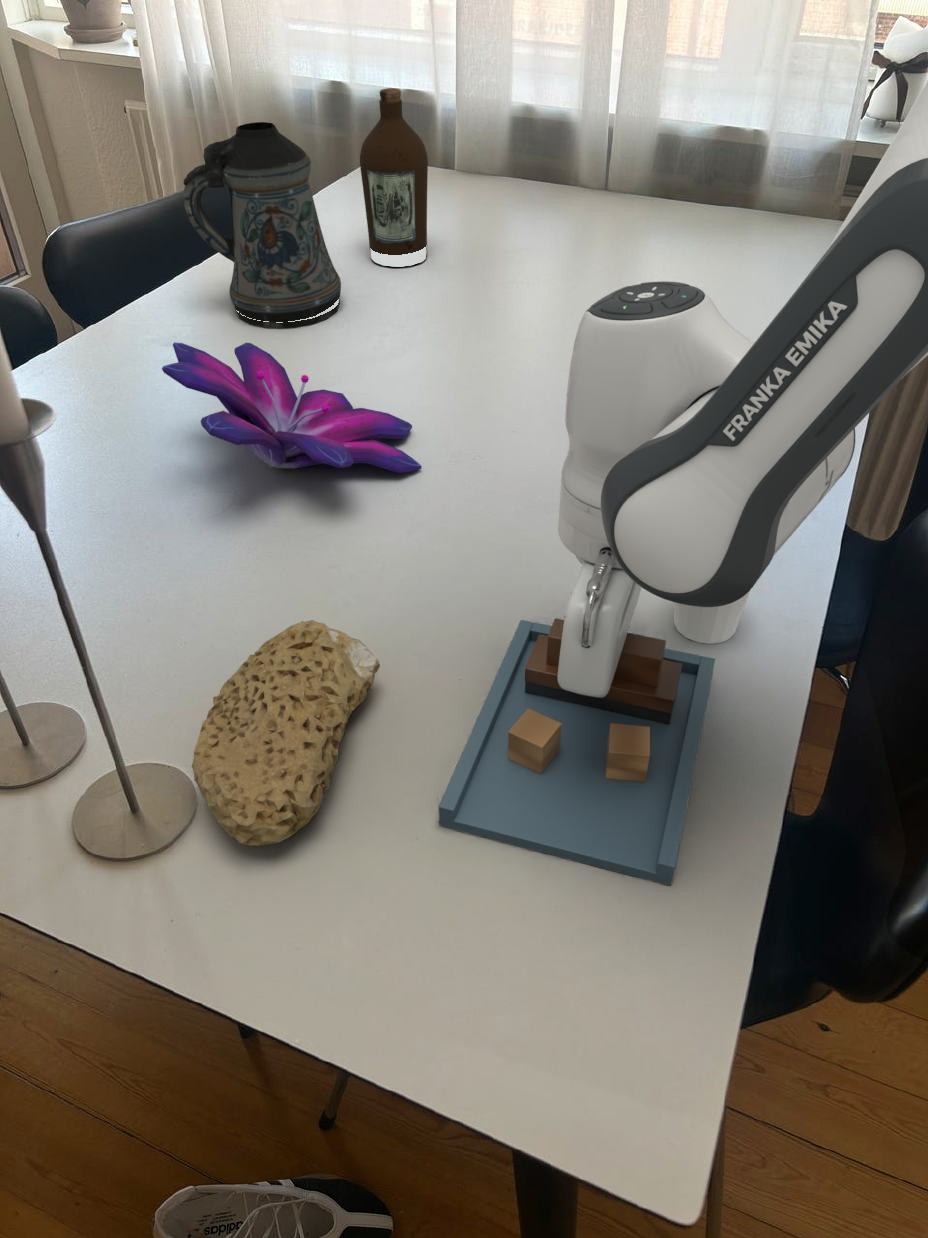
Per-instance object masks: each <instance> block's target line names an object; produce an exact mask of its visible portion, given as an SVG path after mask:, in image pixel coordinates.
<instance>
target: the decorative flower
mask: <svg viewBox="0 0 928 1238" xmlns="http://www.w3.org/2000/svg"><path fill="white" fill-rule="evenodd" d="M172 347H173V350H174V353H175V357H176V360H177V362H174V363H173V362H172V363H170V364H165V365H163V366H162V367H161V371H162V372H163V374H165V375H166V376H168V377H169V378H171V379H173V380H174V381H176V382H177V383H179V384H181V385H182V386H183V387H185V388H186V389H189V390H192V391H196V392H200V393H203V394H206V395H209V396H211V397H212V396H213V397H216V399H218V401H219V402H220V403H221V404H222V405H223V407H224V408H225V409H226V410H220V411H216V412H214V413H211V414H208V415H206V416H204V417H202V418H201V419H200V425H201V427H202V428H203V429H204V430H205V432H207V433H208V435H209V436H211V437H214V438H216V439H219V440H222V441H225V442H228V443H229V444H230V443H231V444H233V445H235V446H246V447H247V448H248V449H249V450H250V451H251V453H253V454H254V455H255V456H256V457H258V458H259V459H260V460H261V461H263V463H265V464H266V465H267V466H268V467H270V468H271V467H274V468H275V469H298V468H299V469H300V468H305V467H310V466H316V465H320V464H325V465H329V466H332V467H335V468H338V469H343V468H348V467H351V466H352V465H354V464H368V465H372V466H375V467H378V468H381V469H385V470H388V471H391V472H394V473H398V474H401V473H411V472H417V471H419V470H421V469H422V467H423V466H422V465H421V464H420V463H419V462H418V461H417V460H415V459H414V458H413V457H411V456H410V455H409V454H408V453H406V452H405V451H403V450H401V449H399V448H396V447H394V446H392V445H389V444H386V443H384V442H382V441H379V440H377V439H389V440H404V439H405V438H406V437H407V435H408V434H409V433H410V431H412V429H413V424H411V423H410V422H408V421H406V420H404V419H402V418H399V417H397V416H396V415H393V414H390V413H388V412H384V411H378V410H374V409H369V408H364V407H357V408H354V407H353V405H352V404H351V402H350V401H349V400H348V399H347V397H346V395H345V394H344V393H342V392H338V391H332V390H328V389H324V388H323V389H317V390H310V391H306V392H304V390H305V387H306V385H307V383H309V376H308V375H307V374H303V375H301V377H300V382H302V383H301V387H300V390H299V393H298V395H297V394H296V392H295V389H294V387H293V384H292V383H291V380H290V377H289V375H288V373H287V371H286V369H285V367H284V366H283V365H282V364H281V363H280V362H279V361H278V360H277V359H276V358H275V357H274V356H273V355H272V354H271V353H270V352H268V351H266V350H264V349H262V348H260V347H259V346H257V345H255V344H253V343H251V342H244V343H243V344H240V345H238V346H236V347H235V348H234V350H233V351H234V355H235V357H236V359H237V361H238V364H239V366H240V369H241V373H242V378H243V379H242V378H241V377H240V376H239V374H238V373H237V372H236V370H234V369H233V368H232V367H231V366H229V365H228V364H226V363H225V362H223V361H222V360H219V359H218V358H217V357H215V356H214V355H211V354H210V353H208V352H206V351H204V350H202V349H199V348H196V347H193V346H192V345H189V344H186V343H183V342H173V344H172Z"/></svg>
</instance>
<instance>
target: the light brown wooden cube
mask: <svg viewBox="0 0 928 1238" xmlns="http://www.w3.org/2000/svg"><path fill="white" fill-rule="evenodd" d="M649 758H650V727H646V726H636V725H625V724H615V723H610V727H609V735H608V743H607V753H606V776H605V777H606V778H608V779H618V780H628V781H637V782H645V781H646V776H647V770H648V764H649Z"/></svg>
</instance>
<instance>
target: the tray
mask: <svg viewBox="0 0 928 1238" xmlns="http://www.w3.org/2000/svg"><path fill="white" fill-rule="evenodd" d="M551 627H552V624H546V623H541V622H535V621H530V620H524V619H520V621H519V623H518V626H517V628H516V630H515V632H514V634H513V636H512V639H511V641H510V644H509V645H508V648H507V650H506V652H505V655H504V657H503V659H502V661H501V663H500V667H499V668H498V671H497V673H496V676H495V677H494V680H493V682H492V684H491V687H490V689H489V691H488V693H487V696H486V698H485V700H484V702H483V705H482V707H481V709H480V712H479V714H478V716H477V719H476V721H475V723H474V724H473V728H472V730H471V732H470V733H469V736H468V738H467V741H466V743H465V746H464V748H463V750H462V752H461V755H460V757H459V759H458V761H457V764H456V767H455V768H454V770H453V773H452V775H451V777H450V780H449V782H448V784H447V787H446V789H445V791H444V794H443V795H442V798H441V800H440V802H439V804H438V825H439V826H440V827H444V828H448V829H450V830H451V829H452V830H455V831H460V832H464V833H467V834H471V835H475V836H479V837H482V838H486V839H489V840H493V841H498V842H501V843H505V844H509V845H513V846H516V847H520V848H525V849H527V850H532V851H535V852H536V851H537V852H539V853H543V854H547V855H551V856H556V857H558V858H563V859H566V860H570V861H574V862H578V863H582V864H586V865H589V866H594V867H597V868H601V869H605V870H609V871H611V872H612V871H613V872H617V873H620V874H624V875H628V876H630V877H631V876H632V877H635V878H640V879H644V880H646V881H647V880H648V881H650V882H654V883H659V884H663V885H666V886H669V887H670V886H672V884H673V880H674V875H675V871H676V870H675V869H676V866H677V859H678V855H679V850H680V846H681V845H680V844H681V840H682V839H681V838H682V834H683V828H684V825H685V818H686V815H687V814H686V813H687V809H688V804H689V797H690V792H691V788H692V782H693V777H694V773H695V767H696V762H697V756H698V751H699V747H700V741H701V736H702V731H703V726H704V721H705V716H706V710H707V704H708V700H709V694H710V688H711V684H712V680H713V673H714V668H715V664H716V658H714V657H709V656H703V655H699V654H694V653H691V652H690V653H689V652H684V651H679V650H675V649H669V648H665V652H664V658H663V660H667V661H671V662H676V663H681V664H682V670H681V675H680V680H679V685H678V691H677V695H676V700H675V704H674V708H673V712H672V717H671V721H670V724H669V725H668V724H664V723H659V722H655V721H650V720H646V719H641V718H637V717H632V716H628V715H623V714H619V713H614V712H610V711H605V710H601V709H596V708H592V707H587V706H583V705H578V704H574V703H569V702H565V701H560V700H556V699H551V698H547V697H543V696H538V695H534V694H529V693H525V667H526V665H527V662H528V660H529V658H530V655H531V653H532V650H533V648H534V645H535V643H536V641H537V638H538V636H539V634H541V635H545V636H548V635H549V632H550V630H551ZM527 709H531V710H533V711H535V712H537V713H540V714H542V715H544V716H546V717H549V718H551V719H553V720H555V721H558V722H560V723H562V727H561V740H560V750H559V751H558V753H557V754H556V755H555V757H554V758H553V759H552V760H551V762H550V763H549V764H548V766H547V767H546V768H545V769H544V771H543V772H542V773H541V774H539V773H537V772H535V771H533V770H531V769H529V768H527V767H525V766H523V765H520V764H518V763H516V762H514V761H512V760H510V759H508V732H509V730H510V729H511V728H512V727H513V726H514V725H515V723H516V722H517V721H518V720H519V719H520V717H521V716H522V715H523V714H524V713H525V711H526V710H527ZM610 723H615V724H625V725H636V726H646V727H650V758H649V764H648V770H647V776H646V781H645V782H637V781H628V780H618V779H608V778H606V777H605V776H606V753H607V743H608V735H609V727H610Z"/></svg>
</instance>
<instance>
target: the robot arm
mask: <svg viewBox="0 0 928 1238" xmlns="http://www.w3.org/2000/svg"><path fill="white" fill-rule="evenodd" d="M927 356H928V79H927V81H925V84H924V85H923V87H922V89H921V90H920V92H919V94H918V96H917V98H916V99H915V101H914V103H913V105H912V106H911V108H910V110H909V112H908V114H906V116H905V118H904V120H903V122H902V124H901V125H900V127H899V129H898V131H897V133H896V134H895V136H894V137H893V139H892V141H891V142H890V144H889V146H888V147H887V149H886V151H885V153H884V154H883V155H882V157H881V159H880V161H879V163H878V164H877V166H876V167H875V170H874V171H873V173H872V174H871V176H870V178H869V179H868V181H867V182H866V184H865V186H864V188H863V189H862V191H861V193H860V194H859V196H858V197H857V199H856V201H855V202H854V204H853V206H852V207H851V209H850V210H849V212H848V214H847V216H846V218H845V219H844V220H843V222H842V224H841V225H840V227H839V228H838V230H837V232H836V234H835V235H834V237H833V238H832V240H831V241H830V243H829V244H828V246H827V248H826V250H825V251H824V253H823V254H822V255H821V257H820V259H819V260H818V261H817V263H816V264H815V265H814V267H813V268H812V269H811V270H810V272H809V273H808V274H807V276H806V277H805V278H804V279H803V281H802V282H801V283H800V285H799V286H798V287H797V288H796V290H795V291H794V292H793V294H792V295H791V296H790V297H789V298H788V300H787V301H786V303H785V304H784V305H783V306H782V308H781V309H780V310H779V311H778V313H777V314H776V315H775V316H774V318H773V319H772V320H771V321H770V322H769V324H768V325H767V327H766V328H765V329H764V330H763V331H762V333H761V334H760V335H759V336H758V338H757V339H756V340H755V341H752V340H751V339H750V338H748V337H747V336H746V335H744V334H743V333H741V332H740V331H739V330H738V329H736V328H735V327H734V326H733V325H732V324H731V323H729V321H727V320H726V318H725V317H724V316H723V314H721V312H720V310H718V307H717V306H716V305H715V303H714V301H713V300H712V298H711V297H710V296H709V295H708V294H707V292H705V291H704V290H702V289H701V288H699V287H696V286H693V285H690V284H688V283H684V282H679V281H668V280H667V281H665V280H664V281H647V282H641V283H639V284H633V285H627V286H624V287H621V288H619V289H616V290H614V291H612V292H610V293H608V294H607V295H604V296H603V297H602V298H600V299H599V300H597V301H596V302H594V303H593V304H592V305H590V307H589V308H587V309H586V310H585V311H584V313H583V315H582V317H581V319H580V322H579V324H578V328H577V331H576V335H575V338H574V343H573V347H572V352H571V358H570V362H569V363H570V365H569V371H568V380H567V388H566V400H565V414H564V417H565V418H564V422H565V429H566V432H567V435H568V449H567V450H568V451H567V453H566V456H565V458H564V461H563V464H562V467H561V477H560V493H559V494H560V495H559V507H558V525H557V532H558V533H557V534H558V537H559V539H560V541H561V543H562V544H563V546H564V547H565V548H566V549H567V550H568V551H569V552H571V554H573V555H574V556H575V558H576V559H577V561H578V562H579V563H580V564H581V568H580V570H579V573H578V575H577V578H576V580H575V583H574V585H573V588H572V590H571V593H570V595H569V599H568V601H567V606H566V611H565V614H564V615H565V616H564V619H563V620H564V625H563V632H562V640H561V649H560V657H559V667H558V683H559V685H560V687H561V688H562V689H564V690H567V691H570V692H574V693H577V694H581V695H586V696H592V697H599V698H602V697H605V696H606V695H607V694H608V692H609V689H610V686H611V683H612V680H613V677H614V674H615V671H616V667H617V664H618V661H619V658H620V655H621V652H622V648H623V645H624V642H625V639H626V636H627V633H629V631H630V630H629V629H630V627H631V623H632V620H633V617H634V614H635V610H636V607H637V605H638V601H639V598H640V594H641V592H642V589H643V590H645V591H647V592H648V593H649V594H652V595H654V596H656V597H659V598H660V599H663V600H666V601H669V602H672V603H674V604H675V603H679V604H684V605H690V606H698V607H718V606H724V605H727V604H730V603H733V602H735V601H737V600H739V599H740V598H742V597H743V596H744V595H746V594H747V593H748V592H749V591H750V592H751V590H752V589H753V588H754V586H755V585H756V583H757V582H758V580H759V579H760V578H761V576H762V575H763V573H764V572H765V571H766V570H767V568H768V567H769V565H770V564H771V562H772V560H773V558H774V556H775V555H776V554H777V553H778V551H780V549H781V548H782V547H783V546H784V545H785V544H786V542H787V541H788V540H789V539H790V538H791V537H792V535H794V533H795V532H796V531H797V530H798V528H799V527H800V526H801V525H802V524H803V523H804V521H805V520H806V519H807V518H808V517H809V516H810V514H811V513H812V512H813V511H814V510H815V509H816V508H817V507H818V505H819V504H820V503H821V502H822V500H824V498H826V496H827V494H829V492H830V491H831V490H832V489H833V487H834V486H835V485H836V483H838V481H839V480H840V478H842V477H843V475H844V474H845V473H846V471H847V470H848V468H849V466H850V464H851V462H852V459H853V456H854V453H855V448H856V428H857V426H858V425H859V424H860V423H861V422H862V421H863V420H864V419H865V418H866V417H867V416H868V415H869V414H870V413H871V412H872V410H873V409H874V408H875V407H876V406H877V405H878V404H879V403H880V402H881V401H882V400H883V399H884V398H885V397H886V395H888V393H890V392H891V390H892V389H893V388H894V387H895V386H896V385H897V384H899V382H900V381H901V380H903V378H904V377H905V376H906V375H908V373H909V372H911V371H912V370H913V369H914V368H915V367H916V366H917V365H918V364H920V363H921V362H922V361H923V360H924V359H926V358H927ZM750 592H749V593H750Z"/></svg>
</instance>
